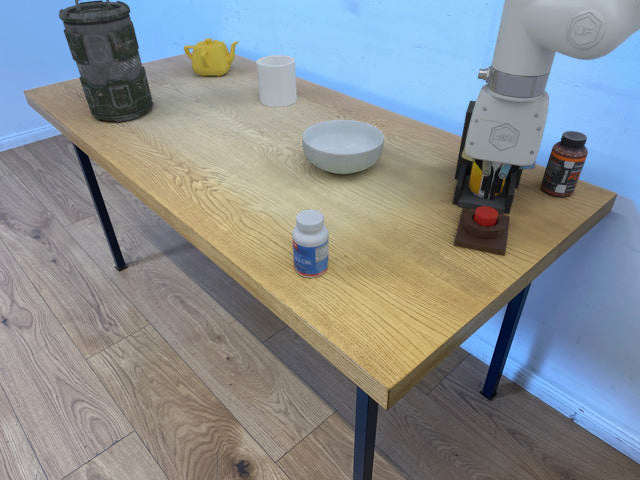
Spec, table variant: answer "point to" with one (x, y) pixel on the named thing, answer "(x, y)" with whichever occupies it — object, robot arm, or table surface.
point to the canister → (107, 59)
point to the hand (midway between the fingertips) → (489, 195)
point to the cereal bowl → (343, 145)
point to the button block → (482, 233)
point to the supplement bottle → (565, 164)
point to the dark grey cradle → (463, 173)
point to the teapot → (211, 57)
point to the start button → (485, 216)
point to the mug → (277, 80)
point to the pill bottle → (310, 244)
